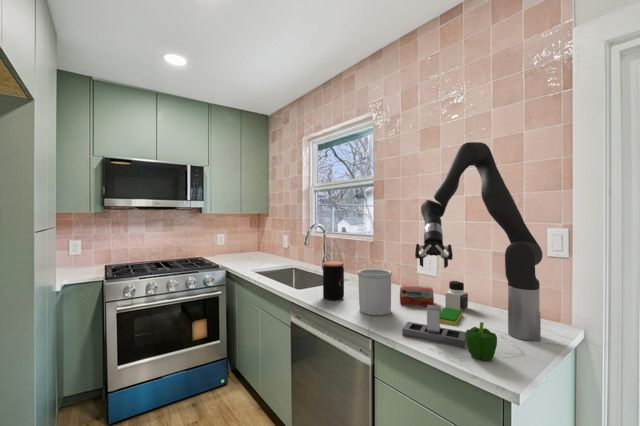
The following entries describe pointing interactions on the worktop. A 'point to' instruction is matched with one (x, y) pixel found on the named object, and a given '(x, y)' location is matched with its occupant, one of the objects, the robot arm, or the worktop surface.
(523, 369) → the worktop surface
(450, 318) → the dish sponge
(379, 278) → the utensil holder
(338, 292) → the coffee jar
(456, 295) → the medicine bottle
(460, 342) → the peg hole block
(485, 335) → the bell pepper
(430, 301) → the medicine box
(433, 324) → the steel peg
